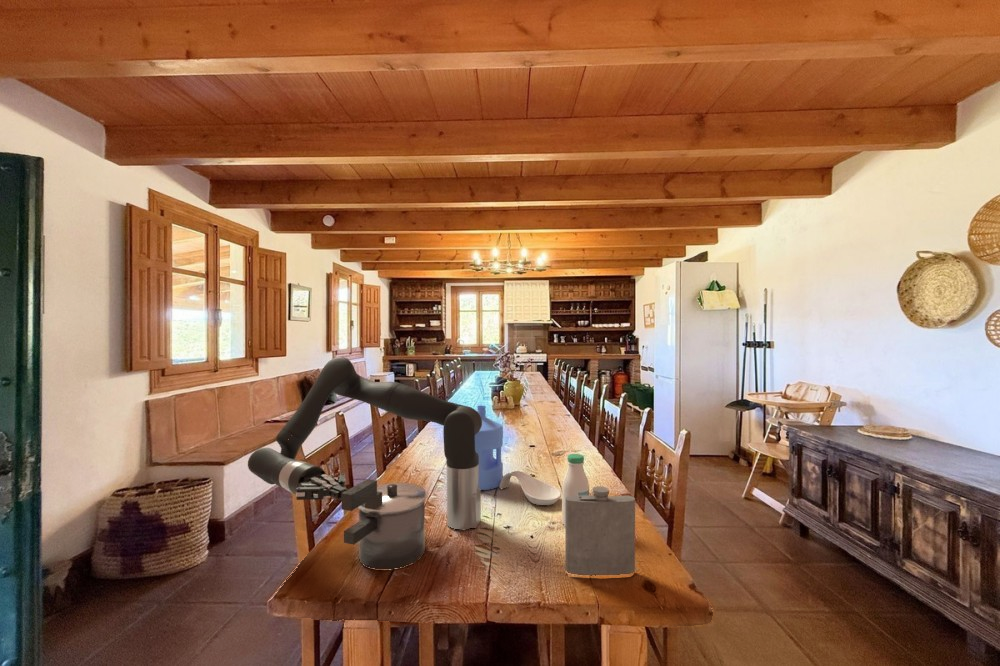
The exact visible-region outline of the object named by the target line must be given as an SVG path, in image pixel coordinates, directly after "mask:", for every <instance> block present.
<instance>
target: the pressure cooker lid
mask: <svg viewBox="0 0 1000 666" xmlns="http://www.w3.org/2000/svg"><path fill="white" fill-rule="evenodd" d="M426 493H427V492H426V489H425V488H424V487H423V486H421V485H418V484H416V483H412V482H411V483H410V482H388V483H382V484H378V480H376V479H369V478H368V479H366V480H363V481H361V482H360V483H358V484H356V485H354V486H353V487H350V488H349V489H348V488H347V491H345V492H343V493H341V498H342V500H341V510H344V511H348V512H353V511H354V510H356V509H358V510H359V509H360V510H361V511H363V512H365V513H369V514H374V515H393V514H400V513H404V512H408V511H411V510H413V509H416V508H418V507H419V506H421V505H422V504H423V503H424V502H425V501H426V499H427V497H426V496H427V495H426Z"/></svg>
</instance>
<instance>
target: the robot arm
mask: <svg viewBox="0 0 1000 666" xmlns="http://www.w3.org/2000/svg"><path fill="white" fill-rule="evenodd" d="M332 393H333V394H335V395H338V396H341V397H345V398H348V399H353V400H356V401H358V402H359V401H360V402H363V403H366V404H368V405H371V406H373V407H376V408H378V409H380V410H383V411H385V412H387V413H390V414H391V415H392V414H393V415H395V416H397V417H400V418H404V419H408V420H414V421H423V422H431V423H435V424H438V425H441V426H442V427H443V430H442V431H443V432H442V433H443V452H444V456H445V458H446V525H447V527H448V526H449V527H448V528H450V527H451V528H454V529H453V530H455V529H469V528H476V527H477V528H478V526H479V524H480V522H481V519H482V517H481V515H482V513H481V512H482V509H481V508H482V507H481V506H482V505H481V504H482V503H481V502H482V497H481V496H482V495H481V493H482V492H481V488H479V456H478V454H477V453H476V451H475V435H476V434H477V433H478V432H479V430H480V429H481V427H482V419H481V416H480V414H479V413H478V412H477V410H476V409H475V408H473V407H471V406H468V405H464V404H458V403H455V402H452V401H447V400H443V399H440V398H439V397H436V396H434V395H431V394H429V393H426V392H424V391H421V390H418V389H416V388H414V387H412V386H409V385H406V384H403V383H400V382H397V381H385V382H384V381H383V382H382V381H381V382H377V381H374V380H371V379H368V378H365V377H363V376H361V375H360V374H359V373H357V371H356V369H355V367H354V364H353V363H352V362H351V360H349V358H347V357H344V356H338V357H334V358H332V359H330V360H329V361H327V363H326V364H324V366H323V368H322V369H321V370H320V372H319V374H318V376H317V378H316V380H315V381H314V383H313V385H312V386H311V387H310V390H309V391H308V393H307V395H306V396H305V398H304V399H303V401H302V402H301V404H300V405H299V406H298V408H297V409H296V411H294V413H293V415H292V416H291V417H290V419H289V420H288V421H287V422H286V423H285V424H284V426H283V427H282V428H281V429H280V430H279V432H278V433H277V434H276V437H275V440H276V442H277V444H278V445H279V447H280V451H279V452H278V451H277V450H276V449H273V448H270V447H262V448H258V449H257V450H255V451H253V453H251V455H250V456H249V457H248V460H247V469H248V470H249V471H250V472H251V473H252V474H254V475H255V476H257V477H258V478H259V479H260V480H262V481H264V482H265V483H267V484H269V485H276V486H278V487H281V488H283V489H284V490H286V491H288V492H289V493H291V494H293V495H295V496H296V498H295V499H296V500H297V501H309V500H310V501H313V500H317V501H318V500H319V501H321V500H323V499H324V498H327V499H329V498H334V499H335V500H336V499H337V500H339V501H342V498H341V493H343V492H345V491H347V490H348V488H347V487H346V473H345V472H344V473H341V474H339V475H337V477H336V476H334V475H331V474H327V473H326V472H325V470H324V469H323V468H322V467H320V466H318V465H315V464H313V463H309V462H306V461H302V460H298V459H296V457H297V455H298V453H299V450H300V449H301V447H302V446H303V445H304V443H305V441H306V440H307V439H308V437H309V436H310V435H311V434H312V432H313V431H314V429H315V428H316V426H317V424H318V421H319V419H320V417H321V414H322V411H323V409H324V406H325V405H326V402H327V401H328V399H329V397H330V395H331V394H332ZM291 435H292V436H291ZM288 439H289V440H288ZM451 528H450V529H451ZM477 528H476V529H477ZM469 530H470V529H469Z"/></svg>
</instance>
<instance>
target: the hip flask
mask: <svg viewBox="0 0 1000 666" xmlns="http://www.w3.org/2000/svg"><path fill="white" fill-rule="evenodd" d="M592 493H593V494H591V495H590V494H589V495H586V496H567V497H566V498H565V527H564V530H565V535H564V536H565V539H564V540H565V545H564V546H565V552H564V554H565V556H564V557H565V558H564V559H565V560H564V561H565V566H564V567H565V570H566V571H567V572H568V573H571V574H578V575H590V576H592V575H595V576H596V575H620V574H630V573H633V572H635V573H636V498H635V496H631V495H616V496H609V494H610V489H609V488H608V487H605V486H594V487H593V488H592Z"/></svg>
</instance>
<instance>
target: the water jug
mask: <svg viewBox="0 0 1000 666" xmlns="http://www.w3.org/2000/svg"><path fill="white" fill-rule="evenodd" d="M476 407H477V410H476V411H477V412H478V413H479V414H480V416H481V419H482V427H481V429H480V430H479V432H478V433H477V434H476V435H475V451H476V453H477V454H478V456H479V488H481V490H484V491H489V490H490V489H491V490H494V488H495V489H497V488H499V487H500V482H501V479H502V478H503V476H504V469H503V468H504V466H503V465H504V464H503V462H502V446H503V445H504V442H503V441H504V440H503V439H504V431H503V429H504V428H503V425H502V424H501V423H500V422H498V421H497V422H496V421H494V420H493V419H490V418H488V417H487V414H486V412H487V410H486V408H487V406H486V405H478V406H476ZM494 450H495V452H496V453H495V454H496V455H495V457H494ZM491 490H490V491H491Z"/></svg>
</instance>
